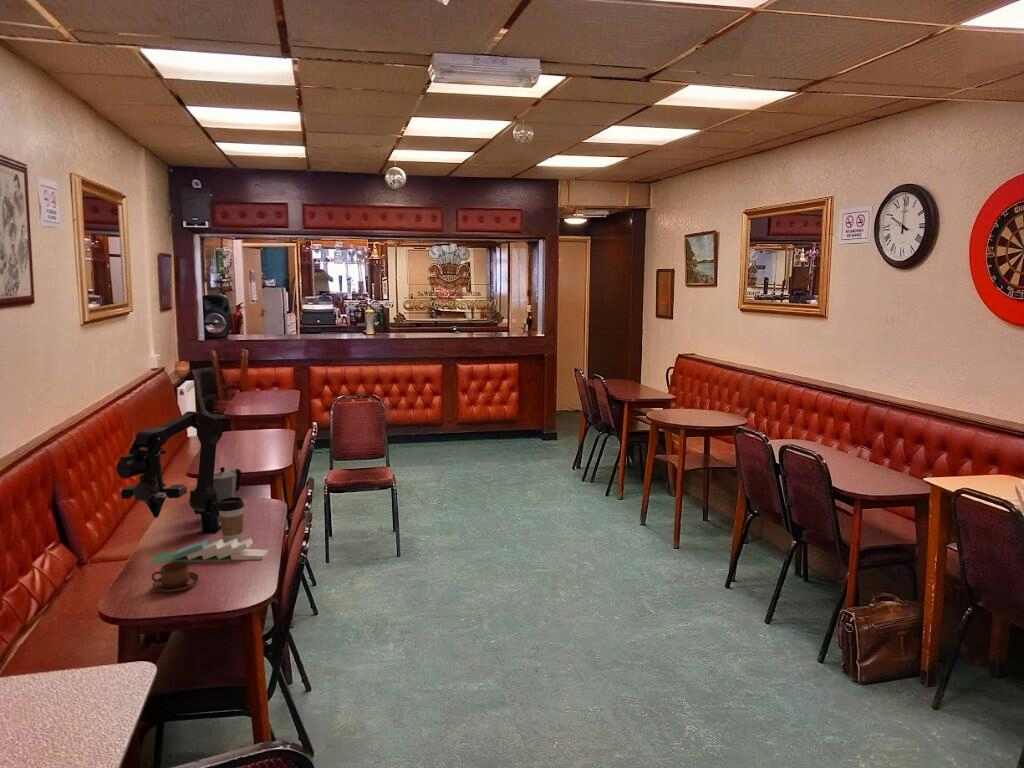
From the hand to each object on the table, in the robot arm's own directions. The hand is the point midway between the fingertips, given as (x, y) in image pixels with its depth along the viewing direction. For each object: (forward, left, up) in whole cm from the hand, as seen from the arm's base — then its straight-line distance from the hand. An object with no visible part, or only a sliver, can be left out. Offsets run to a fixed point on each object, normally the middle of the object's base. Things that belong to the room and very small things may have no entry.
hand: (156, 517), depth 234 cm
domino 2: (+5, +12, -11) cm, 17 cm away
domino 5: (+5, +26, -11) cm, 29 cm away
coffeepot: (-38, +7, -12) cm, 41 cm away
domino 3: (+5, +17, -11) cm, 21 cm away
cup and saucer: (+25, +17, -12) cm, 33 cm away
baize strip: (+5, +13, -12) cm, 19 cm away
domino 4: (+5, +22, -11) cm, 25 cm away
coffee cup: (-8, +21, -12) cm, 25 cm away
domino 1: (+5, +8, -11) cm, 14 cm away
